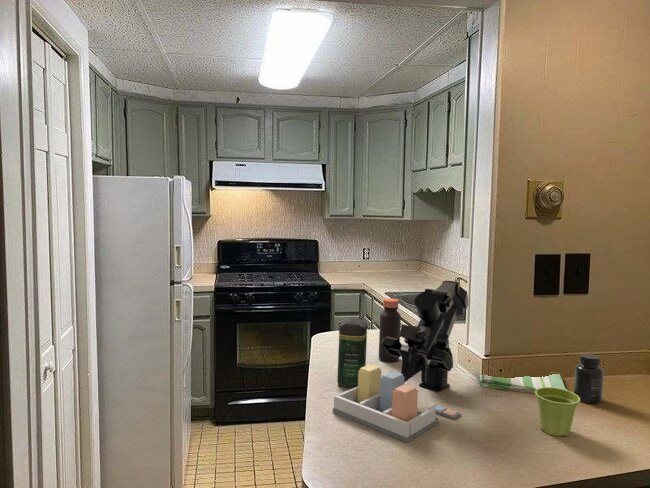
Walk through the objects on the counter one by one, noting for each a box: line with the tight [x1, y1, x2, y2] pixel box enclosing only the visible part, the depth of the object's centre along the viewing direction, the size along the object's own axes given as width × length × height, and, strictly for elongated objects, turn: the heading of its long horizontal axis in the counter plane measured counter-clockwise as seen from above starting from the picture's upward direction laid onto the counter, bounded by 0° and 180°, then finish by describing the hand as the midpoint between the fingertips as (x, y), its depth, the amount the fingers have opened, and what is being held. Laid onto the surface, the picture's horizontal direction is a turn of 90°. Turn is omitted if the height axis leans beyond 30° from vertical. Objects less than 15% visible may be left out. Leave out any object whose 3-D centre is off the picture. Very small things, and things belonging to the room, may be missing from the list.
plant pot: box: [534, 387, 581, 437], centre depth 114 cm, size 9×9×9 cm
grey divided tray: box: [332, 386, 440, 443], centre depth 119 cm, size 22×14×4 cm, turn 47°
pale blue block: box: [380, 371, 405, 411], centre depth 121 cm, size 4×5×9 cm
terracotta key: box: [392, 383, 419, 422], centre depth 113 cm, size 4×5×9 cm
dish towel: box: [479, 373, 569, 394], centre depth 146 cm, size 18×23×3 cm
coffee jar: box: [336, 317, 368, 389], centre depth 141 cm, size 10×8×19 cm
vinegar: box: [378, 297, 402, 363], centre depth 162 cm, size 7×7×20 cm
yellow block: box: [358, 363, 382, 402], centre depth 126 cm, size 4×5×9 cm
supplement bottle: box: [573, 353, 605, 405], centre depth 133 cm, size 7×7×12 cm
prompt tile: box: [428, 404, 462, 420], centre depth 123 cm, size 7×4×1 cm, turn 47°
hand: (402, 381), depth 124 cm, fingers closed
